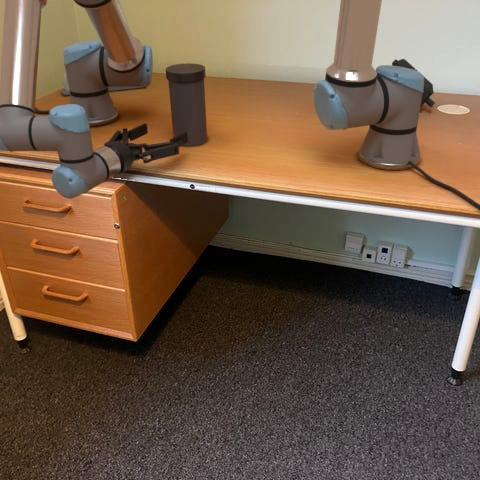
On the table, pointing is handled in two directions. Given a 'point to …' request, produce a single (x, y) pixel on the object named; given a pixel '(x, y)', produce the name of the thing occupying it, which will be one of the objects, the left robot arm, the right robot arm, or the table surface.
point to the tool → (427, 85)
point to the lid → (185, 72)
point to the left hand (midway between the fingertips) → (166, 132)
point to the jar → (189, 111)
